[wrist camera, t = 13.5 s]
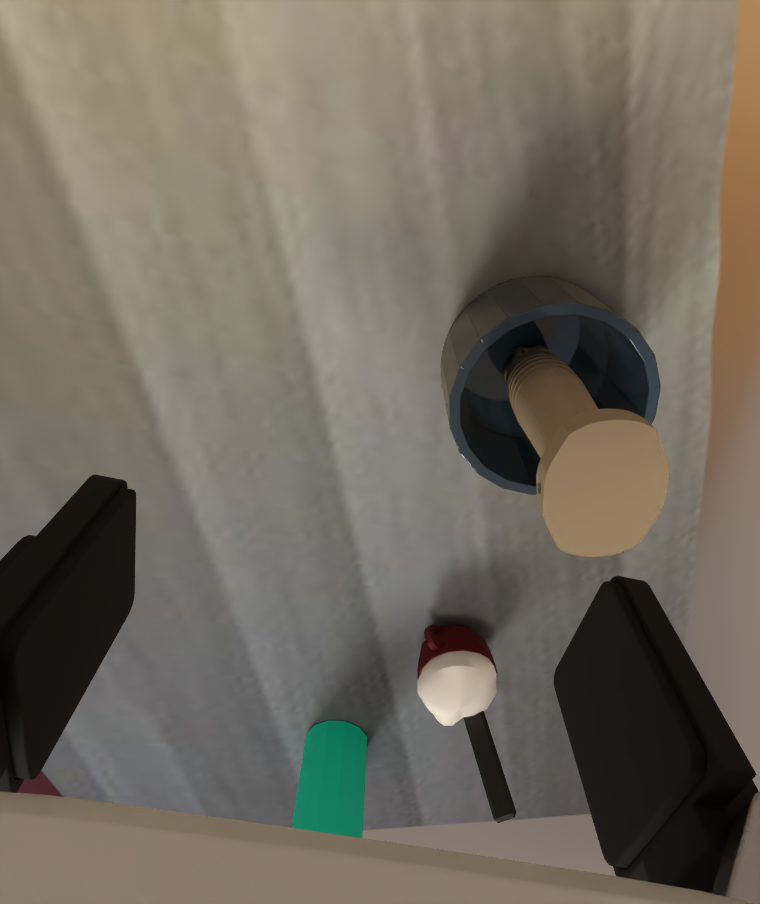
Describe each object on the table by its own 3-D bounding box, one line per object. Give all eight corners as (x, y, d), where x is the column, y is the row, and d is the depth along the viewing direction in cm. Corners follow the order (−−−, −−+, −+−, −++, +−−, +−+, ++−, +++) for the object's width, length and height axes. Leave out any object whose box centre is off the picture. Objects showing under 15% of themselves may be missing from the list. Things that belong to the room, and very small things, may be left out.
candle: (380, 743, 55) (377, 886, 44) (336, 768, 57) (321, 911, 46) (337, 711, 53) (322, 852, 42) (292, 738, 55) (267, 879, 44)
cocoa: (409, 607, 46) (412, 742, 36) (486, 598, 46) (513, 734, 35) (424, 687, 51) (431, 828, 40) (495, 680, 50) (521, 822, 40)
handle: (571, 313, 34) (680, 416, 21) (563, 411, 37) (654, 554, 24) (490, 319, 35) (548, 423, 21) (489, 415, 38) (539, 559, 24)
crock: (471, 254, 34) (488, 278, 27) (645, 301, 35) (699, 334, 28) (420, 419, 39) (425, 470, 32) (573, 456, 40) (605, 512, 33)
